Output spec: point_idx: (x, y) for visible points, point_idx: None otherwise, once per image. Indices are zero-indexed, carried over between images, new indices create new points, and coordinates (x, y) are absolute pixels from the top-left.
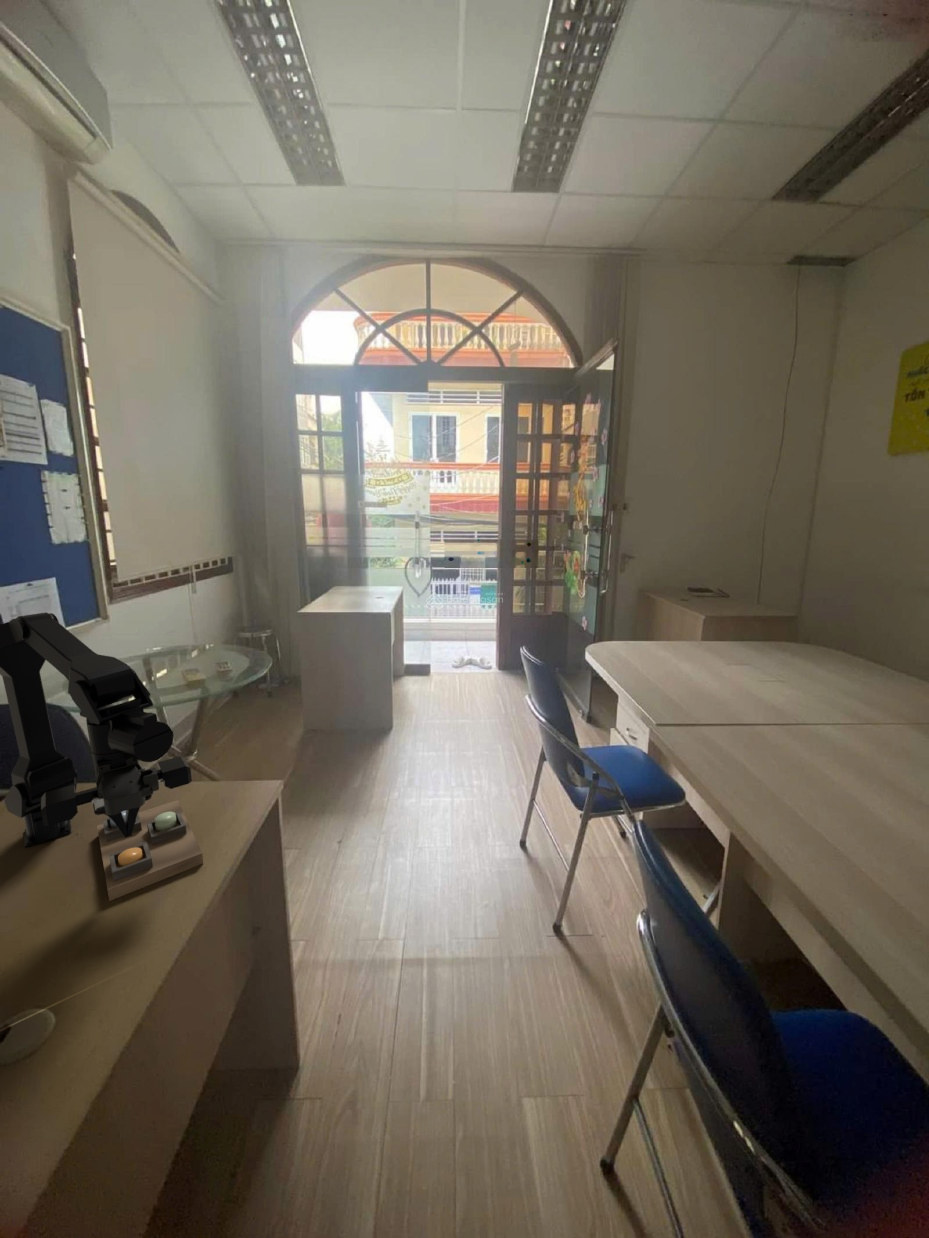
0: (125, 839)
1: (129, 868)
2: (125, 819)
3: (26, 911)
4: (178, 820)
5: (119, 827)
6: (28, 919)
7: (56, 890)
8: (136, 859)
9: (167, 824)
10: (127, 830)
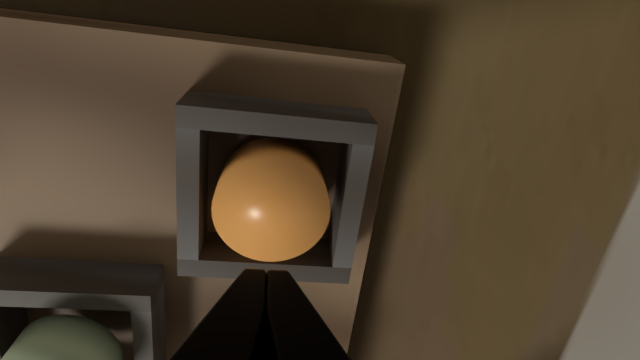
0: None
1: (296, 112)
2: None
3: (583, 218)
4: None
5: (333, 348)
6: (597, 172)
7: (489, 263)
8: (250, 155)
9: (49, 338)
10: (265, 305)
